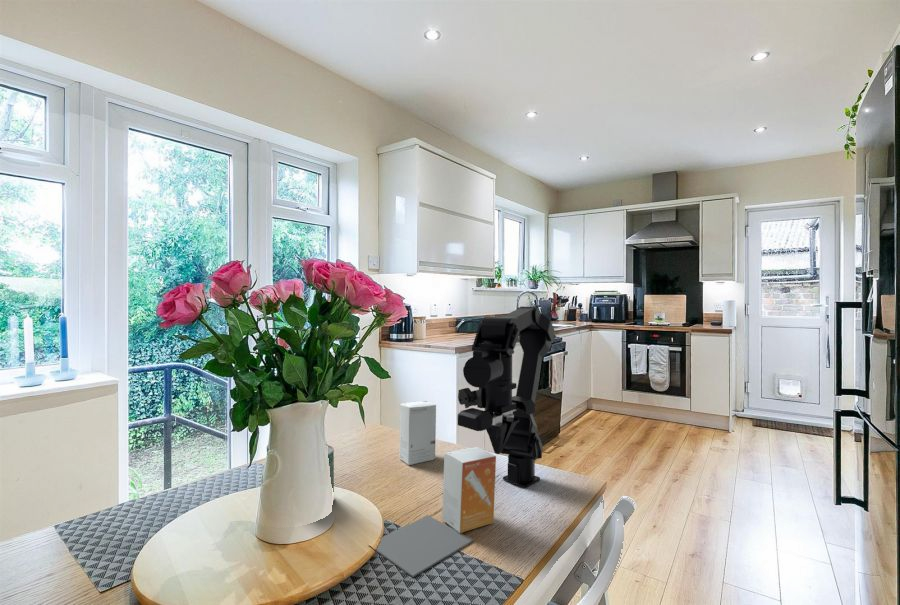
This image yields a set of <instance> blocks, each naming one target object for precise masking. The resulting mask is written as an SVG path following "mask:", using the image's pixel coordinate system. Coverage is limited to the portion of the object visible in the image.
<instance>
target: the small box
mask: <svg viewBox="0 0 900 605" xmlns="http://www.w3.org/2000/svg"><path fill="white" fill-rule="evenodd" d="M443 457H444V458H443V459H444V460H443V461H444V462H443V483H442V486H443V488H442V510H441V511H442V514H441V516H442V517H441V520H442V521H444V523H445V524H446V525H448V526H449V527H451V528H453V529H454V530H456V531H458V532H459V533H462V534H464V533H465V532H468V531H471V530H474V529H478V528H481V527H483V526H487V525H492V524H494V520H495V519H494V518H495V517H494V516H495V512H494V511H495V494H496V492H495V490H496V467H497V464H496V463H497V456H496V455H495V454H493V453H490V452H489V451H487V450H485V449H483V448H481V447H479V446H474V447H469V448H463V449H462V448H461V449H456V450H453V451H448V452H444V456H443Z"/></svg>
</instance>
